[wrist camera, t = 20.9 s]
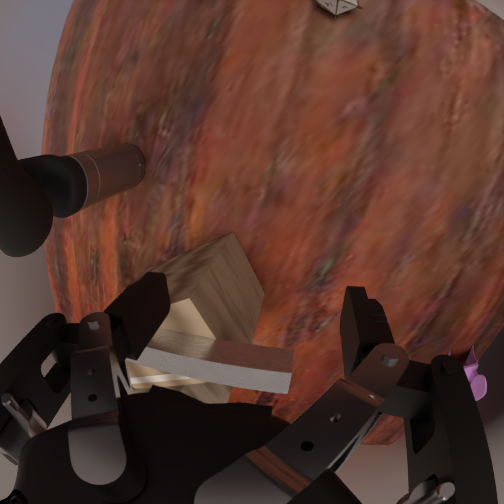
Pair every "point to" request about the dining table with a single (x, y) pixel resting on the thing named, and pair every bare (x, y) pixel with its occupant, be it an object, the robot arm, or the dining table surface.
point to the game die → (338, 6)
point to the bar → (219, 361)
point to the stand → (205, 309)
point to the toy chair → (474, 376)
